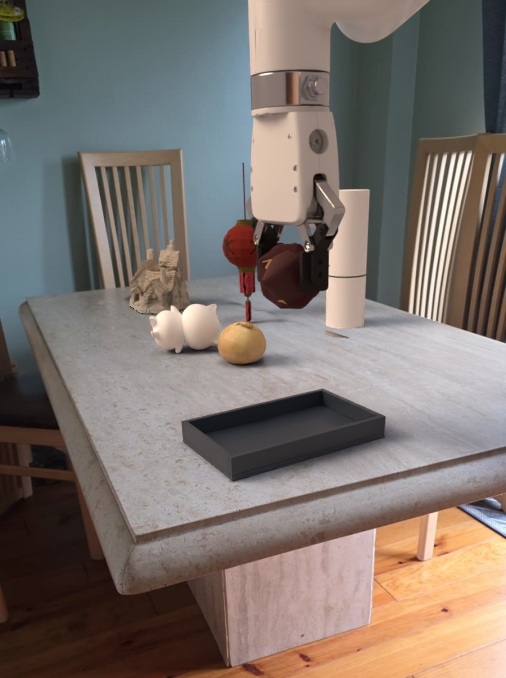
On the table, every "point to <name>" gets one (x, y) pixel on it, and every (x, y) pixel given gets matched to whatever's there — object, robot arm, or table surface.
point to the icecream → (283, 277)
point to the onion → (241, 343)
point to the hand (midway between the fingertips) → (291, 285)
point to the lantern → (242, 255)
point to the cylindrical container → (348, 264)
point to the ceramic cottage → (159, 283)
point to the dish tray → (281, 432)
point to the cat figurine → (186, 327)
